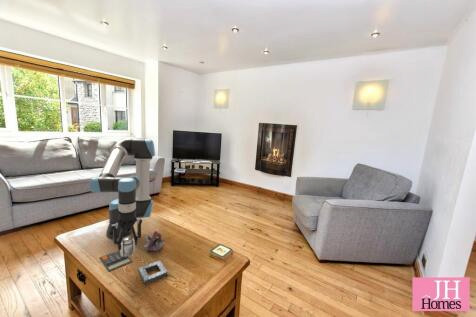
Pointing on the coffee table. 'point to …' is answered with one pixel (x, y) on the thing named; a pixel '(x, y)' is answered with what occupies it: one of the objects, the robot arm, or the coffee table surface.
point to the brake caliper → (154, 242)
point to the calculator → (115, 260)
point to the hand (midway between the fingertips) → (127, 252)
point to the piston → (127, 246)
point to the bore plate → (152, 277)
